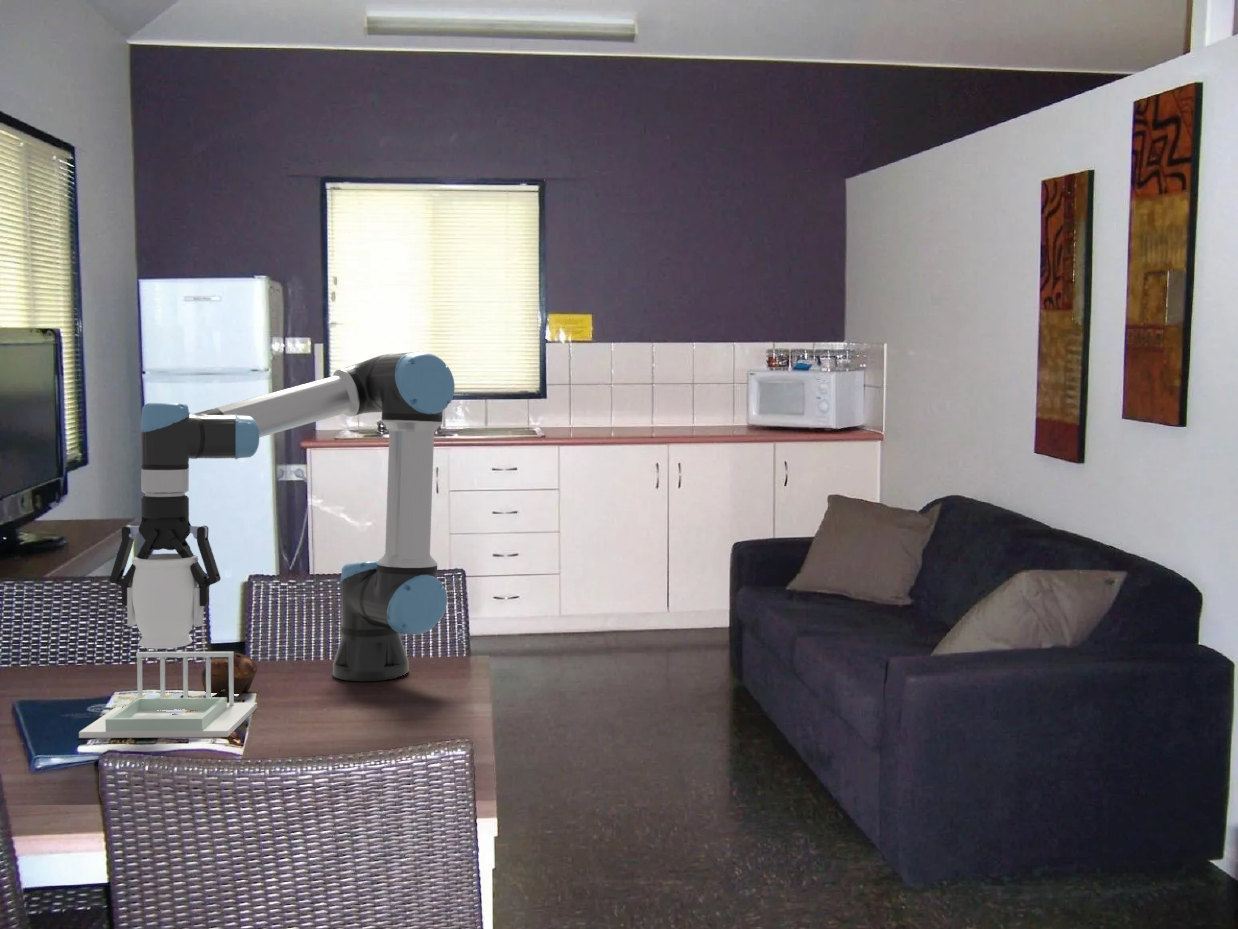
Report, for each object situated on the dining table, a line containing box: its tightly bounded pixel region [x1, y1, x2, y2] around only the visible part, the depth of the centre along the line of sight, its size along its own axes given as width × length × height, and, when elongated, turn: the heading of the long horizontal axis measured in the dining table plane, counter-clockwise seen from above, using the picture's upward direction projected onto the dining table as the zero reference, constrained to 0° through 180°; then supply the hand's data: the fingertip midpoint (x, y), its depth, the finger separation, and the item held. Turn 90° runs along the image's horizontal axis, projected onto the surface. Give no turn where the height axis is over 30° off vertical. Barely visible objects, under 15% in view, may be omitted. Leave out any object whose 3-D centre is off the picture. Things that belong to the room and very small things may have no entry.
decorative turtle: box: [200, 652, 258, 695], centre depth 229 cm, size 10×15×8 cm, turn 4°
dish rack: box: [78, 651, 258, 739], centre depth 208 cm, size 24×19×11 cm
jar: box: [131, 553, 199, 650], centre depth 205 cm, size 11×10×15 cm
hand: (165, 625), depth 205 cm, fingers closed on jar, 10 cm apart
